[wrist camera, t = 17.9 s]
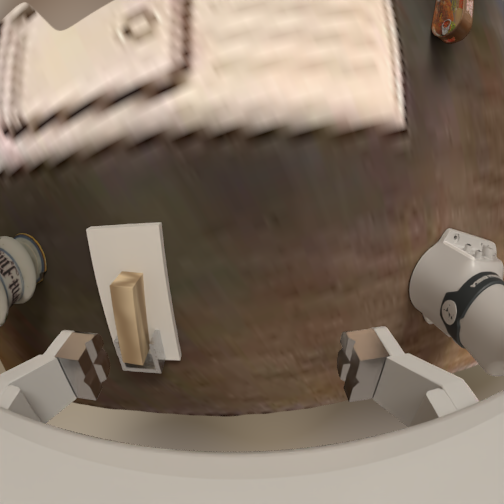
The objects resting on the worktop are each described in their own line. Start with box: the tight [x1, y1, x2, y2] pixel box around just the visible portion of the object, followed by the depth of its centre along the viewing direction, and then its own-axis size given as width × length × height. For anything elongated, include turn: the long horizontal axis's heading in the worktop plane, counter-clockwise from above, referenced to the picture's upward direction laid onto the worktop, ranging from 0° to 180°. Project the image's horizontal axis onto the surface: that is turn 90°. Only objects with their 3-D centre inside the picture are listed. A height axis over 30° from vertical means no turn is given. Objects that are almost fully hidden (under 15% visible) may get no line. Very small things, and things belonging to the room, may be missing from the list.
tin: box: [432, 0, 474, 44], centre depth 26 cm, size 15×3×8 cm, turn 161°
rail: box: [110, 271, 150, 365], centre depth 42 cm, size 4×14×5 cm, turn 175°
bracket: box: [86, 222, 181, 373], centre depth 43 cm, size 12×24×6 cm, turn 1°
